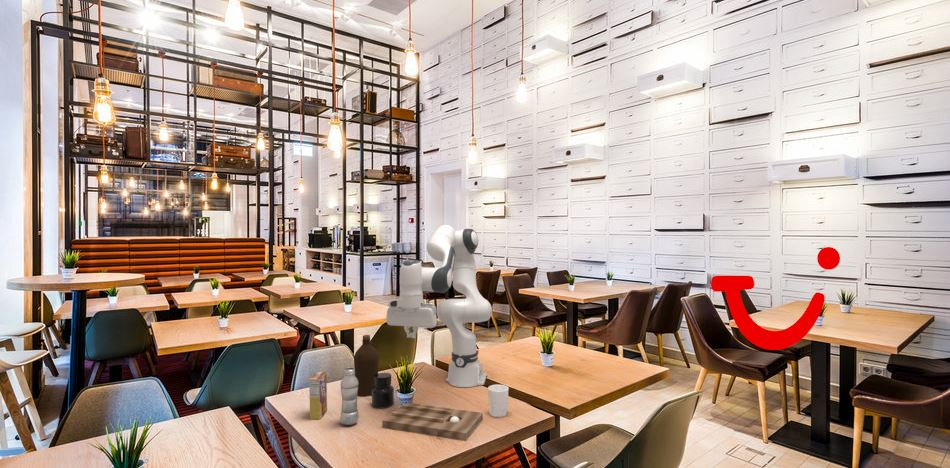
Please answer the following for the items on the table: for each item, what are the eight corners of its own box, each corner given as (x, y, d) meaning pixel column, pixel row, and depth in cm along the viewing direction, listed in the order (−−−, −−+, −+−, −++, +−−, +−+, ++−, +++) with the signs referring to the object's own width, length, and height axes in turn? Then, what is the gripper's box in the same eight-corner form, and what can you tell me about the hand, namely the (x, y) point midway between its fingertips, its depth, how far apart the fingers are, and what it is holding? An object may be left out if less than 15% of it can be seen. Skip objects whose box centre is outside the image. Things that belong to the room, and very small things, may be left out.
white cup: (507, 418, 167) (507, 392, 167) (486, 417, 169) (486, 390, 169) (509, 410, 175) (509, 385, 175) (489, 409, 176) (489, 383, 176)
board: (382, 427, 160) (382, 417, 160) (405, 408, 177) (405, 399, 177) (466, 440, 149) (466, 429, 149) (482, 419, 166) (482, 409, 166)
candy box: (316, 410, 176) (316, 371, 176) (327, 410, 176) (327, 371, 176) (308, 419, 167) (308, 378, 167) (320, 419, 167) (320, 378, 167)
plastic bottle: (352, 418, 168) (352, 365, 168) (362, 423, 163) (362, 369, 163) (336, 423, 163) (336, 368, 163) (346, 429, 158) (345, 372, 158)
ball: (459, 413, 162) (462, 423, 161) (450, 416, 163) (453, 425, 162) (455, 417, 158) (458, 427, 158) (446, 419, 159) (450, 429, 159)
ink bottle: (392, 399, 187) (392, 370, 187) (396, 407, 179) (396, 377, 179) (369, 402, 184) (369, 373, 184) (372, 410, 176) (372, 379, 176)
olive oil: (378, 396, 191) (378, 337, 191) (352, 397, 189) (352, 338, 189) (379, 387, 201) (379, 332, 201) (355, 389, 200) (355, 333, 200)
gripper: (439, 302, 172) (439, 338, 172) (392, 299, 179) (392, 334, 179) (432, 304, 166) (432, 341, 166) (384, 302, 173) (384, 337, 173)
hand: (411, 337), depth 173 cm, fingers closed
